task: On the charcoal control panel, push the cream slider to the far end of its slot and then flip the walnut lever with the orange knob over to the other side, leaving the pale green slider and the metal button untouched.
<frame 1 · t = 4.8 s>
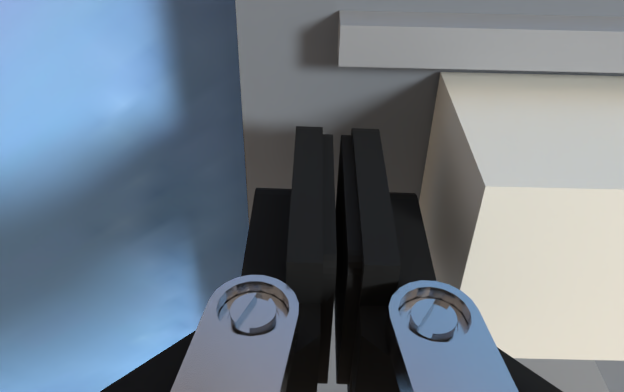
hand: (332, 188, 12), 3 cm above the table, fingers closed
panel: (528, 282, 18), on the table
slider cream: (543, 211, 11), point 4 cm above the table, slide at 1.6 cm, touching gripper
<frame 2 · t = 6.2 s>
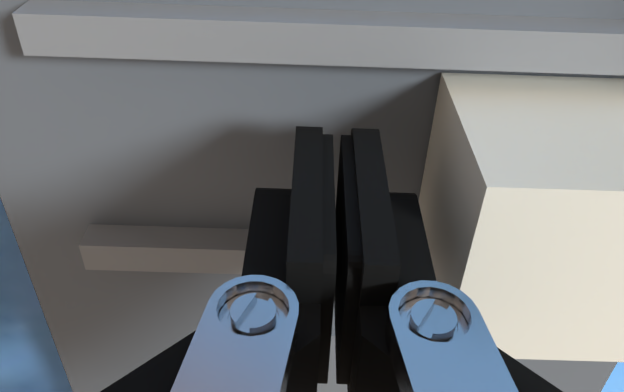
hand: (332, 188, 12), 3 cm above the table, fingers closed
panel: (338, 277, 18), on the table
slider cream: (542, 212, 11), point 4 cm above the table, slide at 7.6 cm, touching gripper
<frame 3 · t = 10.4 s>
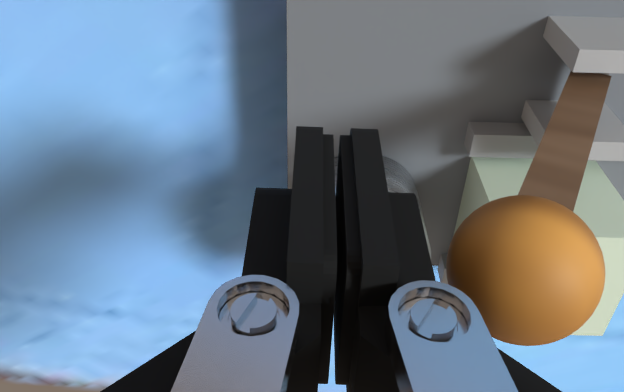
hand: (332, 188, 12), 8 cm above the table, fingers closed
button: (362, 229, 19), point 4 cm above the table, slide at 0.0 cm
lever: (559, 164, 13), point 7 cm above the table, hinge at 27.7°, touching gripper
slider green: (535, 243, 18), point 4 cm above the table, slide at 0.0 cm
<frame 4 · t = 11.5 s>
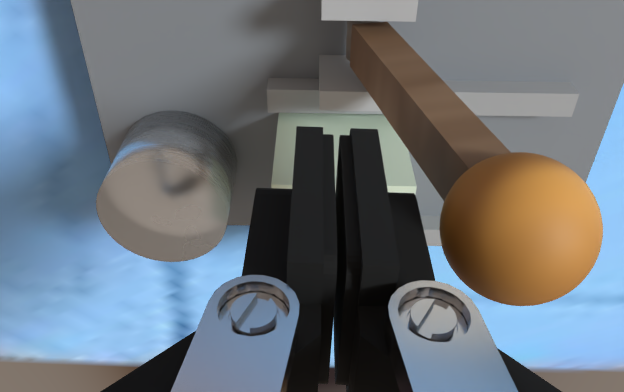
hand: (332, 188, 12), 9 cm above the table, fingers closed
button: (171, 186, 19), point 4 cm above the table, slide at 0.0 cm
lever: (427, 118, 13), point 8 cm above the table, hinge at -14.5°, touching gripper
slider green: (338, 197, 18), point 4 cm above the table, slide at 0.0 cm
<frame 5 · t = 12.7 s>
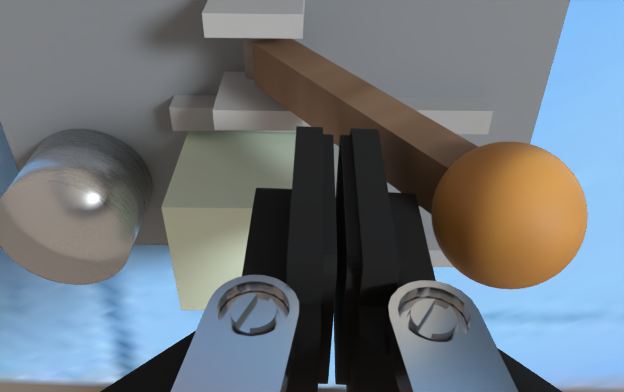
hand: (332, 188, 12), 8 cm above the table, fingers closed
button: (78, 206, 18), point 4 cm above the table, slide at 0.0 cm
lever: (368, 124, 13), point 7 cm above the table, hinge at -35.5°, touching gripper
slider green: (249, 218, 18), point 4 cm above the table, slide at 0.0 cm
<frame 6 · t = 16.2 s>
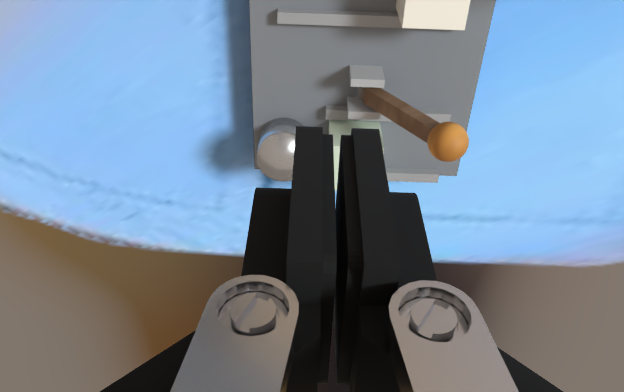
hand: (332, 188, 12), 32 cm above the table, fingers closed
panel: (364, 49, 44), on the table
button: (283, 149, 45), point 4 cm above the table, slide at 0.0 cm
lever: (407, 117, 39), point 7 cm above the table, hinge at -35.7°
slider green: (353, 155, 45), point 4 cm above the table, slide at 0.0 cm
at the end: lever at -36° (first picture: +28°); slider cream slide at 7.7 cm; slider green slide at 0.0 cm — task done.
